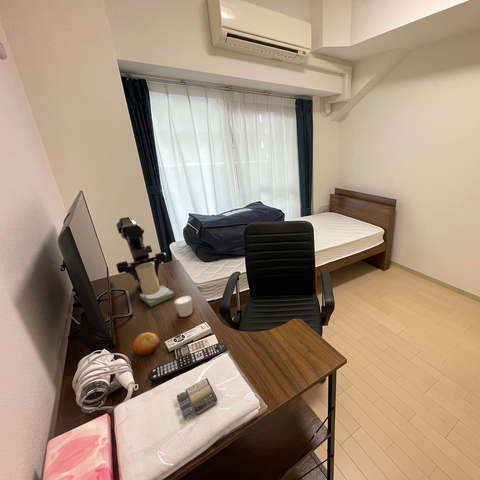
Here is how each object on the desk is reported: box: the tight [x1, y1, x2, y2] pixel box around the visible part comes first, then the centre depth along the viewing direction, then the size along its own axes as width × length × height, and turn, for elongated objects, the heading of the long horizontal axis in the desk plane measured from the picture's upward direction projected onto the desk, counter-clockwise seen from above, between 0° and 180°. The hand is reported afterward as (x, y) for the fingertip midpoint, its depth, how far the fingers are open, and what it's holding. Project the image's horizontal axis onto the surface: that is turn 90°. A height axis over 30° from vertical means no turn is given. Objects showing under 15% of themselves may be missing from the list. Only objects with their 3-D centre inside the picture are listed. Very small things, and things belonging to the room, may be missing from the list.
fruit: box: [131, 331, 160, 356], centre depth 93 cm, size 8×8×8 cm
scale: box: [139, 285, 175, 308], centre depth 126 cm, size 12×11×3 cm
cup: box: [135, 262, 161, 295], centre depth 114 cm, size 7×7×13 cm
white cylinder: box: [174, 295, 194, 318], centre depth 114 cm, size 7×7×7 cm
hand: (148, 278), depth 113 cm, fingers closed on cup, 7 cm apart
